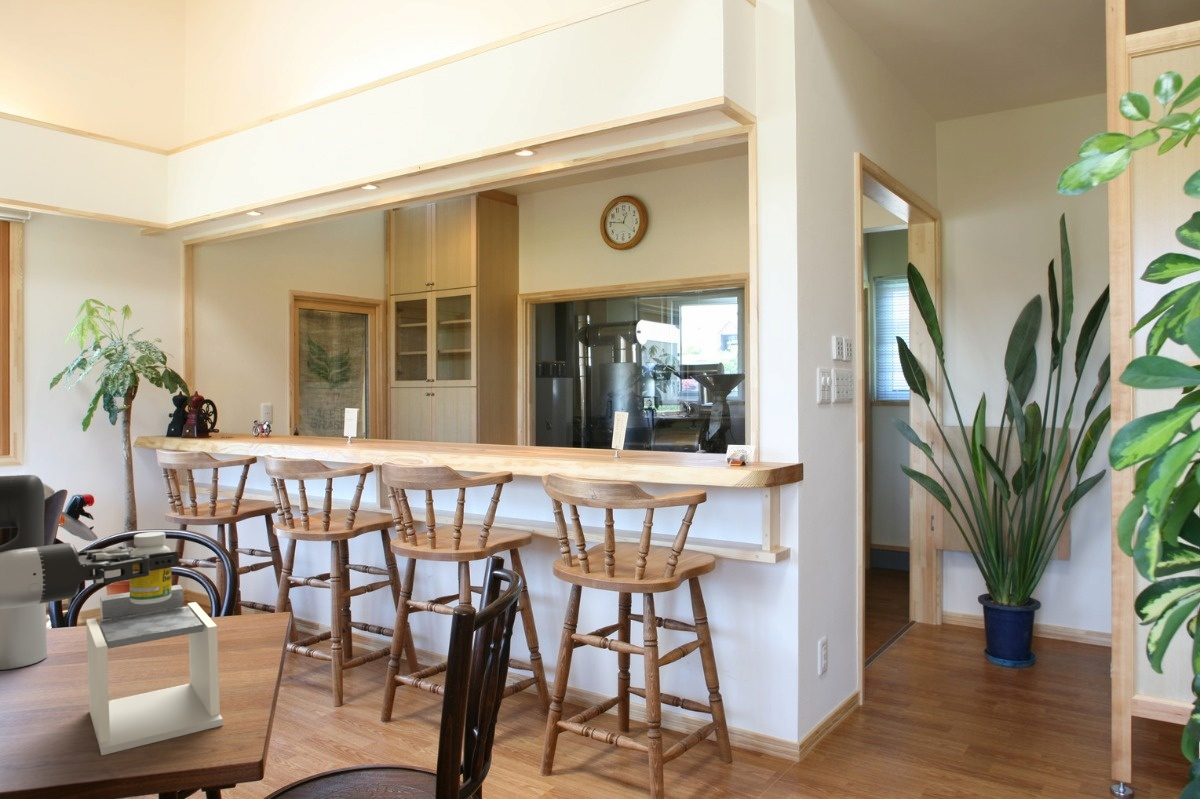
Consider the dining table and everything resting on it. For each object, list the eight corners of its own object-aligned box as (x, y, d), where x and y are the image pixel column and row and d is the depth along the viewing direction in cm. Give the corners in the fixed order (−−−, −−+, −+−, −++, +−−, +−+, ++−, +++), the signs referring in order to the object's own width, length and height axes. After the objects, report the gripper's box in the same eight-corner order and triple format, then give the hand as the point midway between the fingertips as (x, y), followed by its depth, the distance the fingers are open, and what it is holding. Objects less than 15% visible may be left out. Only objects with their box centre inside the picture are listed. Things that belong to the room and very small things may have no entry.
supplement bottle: (133, 597, 120) (132, 532, 120) (174, 593, 122) (173, 529, 122) (126, 606, 115) (125, 538, 115) (168, 602, 117) (167, 536, 116)
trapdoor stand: (89, 711, 123) (86, 619, 123) (198, 687, 132) (195, 601, 132) (101, 755, 109) (98, 651, 108) (222, 725, 117) (220, 629, 117)
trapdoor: (97, 622, 125) (96, 597, 125) (183, 608, 132) (182, 584, 132) (108, 649, 112) (107, 621, 112) (203, 632, 119) (202, 605, 119)
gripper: (46, 555, 103) (187, 536, 115) (19, 540, 113) (152, 524, 125) (47, 614, 103) (188, 588, 115) (21, 594, 113) (153, 573, 125)
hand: (169, 555), depth 120 cm, fingers closed on supplement bottle, 5 cm apart
